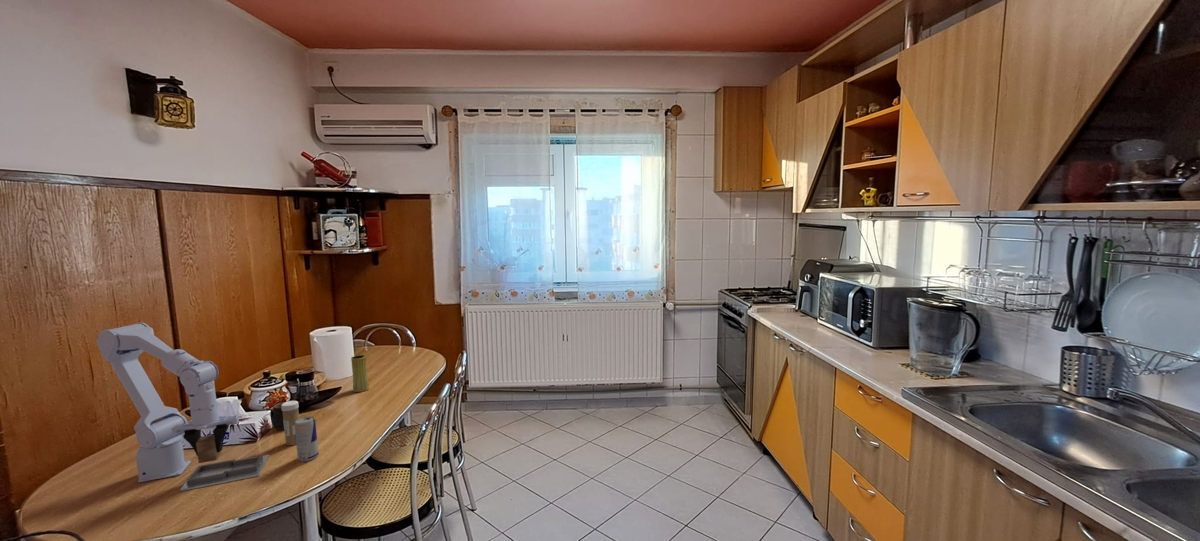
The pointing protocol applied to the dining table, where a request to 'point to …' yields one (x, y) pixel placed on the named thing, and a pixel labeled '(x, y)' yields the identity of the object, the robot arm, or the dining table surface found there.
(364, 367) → the vase
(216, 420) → the robot arm
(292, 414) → the sprinkles bottle
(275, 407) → the mate gourd
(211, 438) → the walnut peg
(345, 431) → the dining table surface
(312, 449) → the energy drink
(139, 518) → the dining table surface
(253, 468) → the keyhole plate
